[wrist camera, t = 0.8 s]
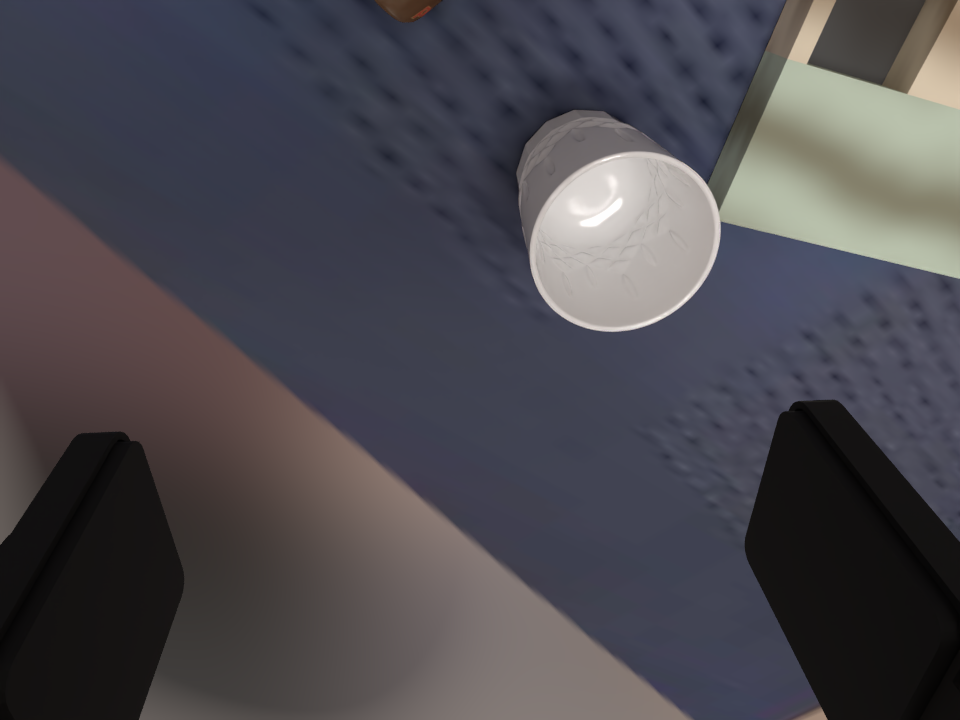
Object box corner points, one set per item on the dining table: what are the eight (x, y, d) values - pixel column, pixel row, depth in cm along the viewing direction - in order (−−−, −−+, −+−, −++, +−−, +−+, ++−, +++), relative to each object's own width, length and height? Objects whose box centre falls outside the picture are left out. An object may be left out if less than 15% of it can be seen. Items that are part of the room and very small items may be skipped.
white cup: (618, 258, 40) (672, 348, 32) (486, 224, 39) (505, 309, 30) (677, 121, 36) (755, 182, 28) (532, 76, 35) (569, 127, 26)
